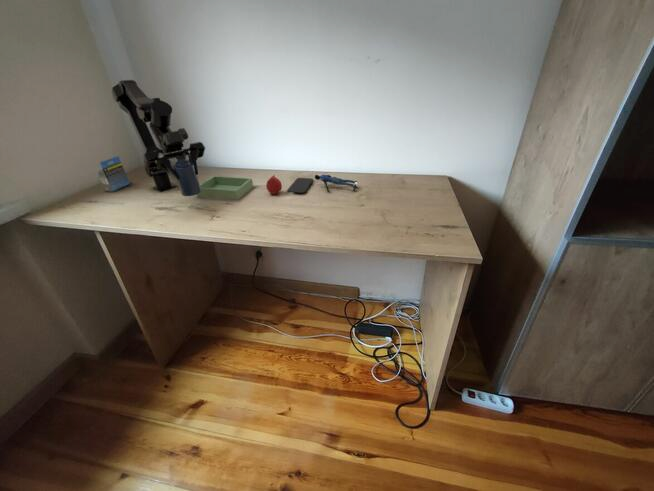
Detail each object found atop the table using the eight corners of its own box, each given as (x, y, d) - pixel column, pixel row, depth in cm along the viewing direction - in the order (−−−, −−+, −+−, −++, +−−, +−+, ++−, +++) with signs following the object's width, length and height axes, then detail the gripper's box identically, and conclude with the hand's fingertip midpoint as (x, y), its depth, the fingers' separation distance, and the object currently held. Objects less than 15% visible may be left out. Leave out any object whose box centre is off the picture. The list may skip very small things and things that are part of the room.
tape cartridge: (123, 183, 130) (111, 155, 123) (130, 184, 129) (119, 155, 122) (105, 191, 122) (92, 161, 116) (113, 192, 122) (99, 162, 115)
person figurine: (358, 188, 124) (317, 179, 126) (360, 177, 121) (318, 169, 124) (354, 198, 115) (310, 188, 117) (356, 187, 112) (311, 178, 115)
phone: (286, 191, 116) (297, 177, 128) (286, 193, 117) (297, 179, 129) (304, 192, 115) (313, 178, 127) (304, 194, 115) (314, 180, 127)
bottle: (181, 190, 103) (170, 153, 96) (200, 187, 105) (190, 150, 98) (181, 197, 98) (169, 158, 91) (201, 194, 100) (190, 156, 93)
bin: (197, 197, 115) (195, 187, 113) (216, 185, 126) (214, 175, 123) (238, 201, 111) (236, 190, 109) (253, 188, 122) (251, 178, 120)
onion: (279, 198, 113) (277, 178, 108) (265, 197, 114) (262, 177, 109) (284, 192, 117) (282, 173, 113) (270, 191, 118) (268, 172, 114)
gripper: (133, 125, 86) (158, 171, 85) (195, 116, 97) (218, 156, 96) (134, 147, 95) (158, 189, 95) (191, 137, 106) (213, 174, 105)
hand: (187, 176), depth 97 cm, fingers closed on bottle, 6 cm apart
